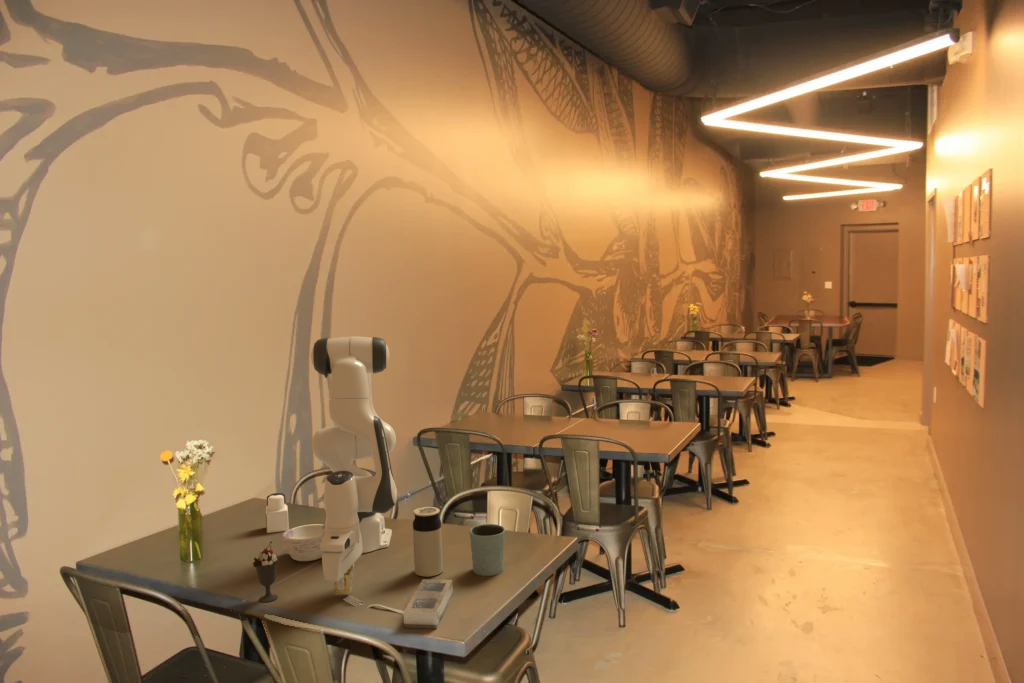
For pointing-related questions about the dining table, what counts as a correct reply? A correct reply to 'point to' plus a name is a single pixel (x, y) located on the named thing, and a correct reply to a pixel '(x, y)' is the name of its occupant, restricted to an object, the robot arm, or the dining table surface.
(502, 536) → the green cup
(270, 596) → the sundae
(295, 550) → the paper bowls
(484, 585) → the dining table surface
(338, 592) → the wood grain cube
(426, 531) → the travel mug
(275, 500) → the medicine bottle
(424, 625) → the tan windowed box
